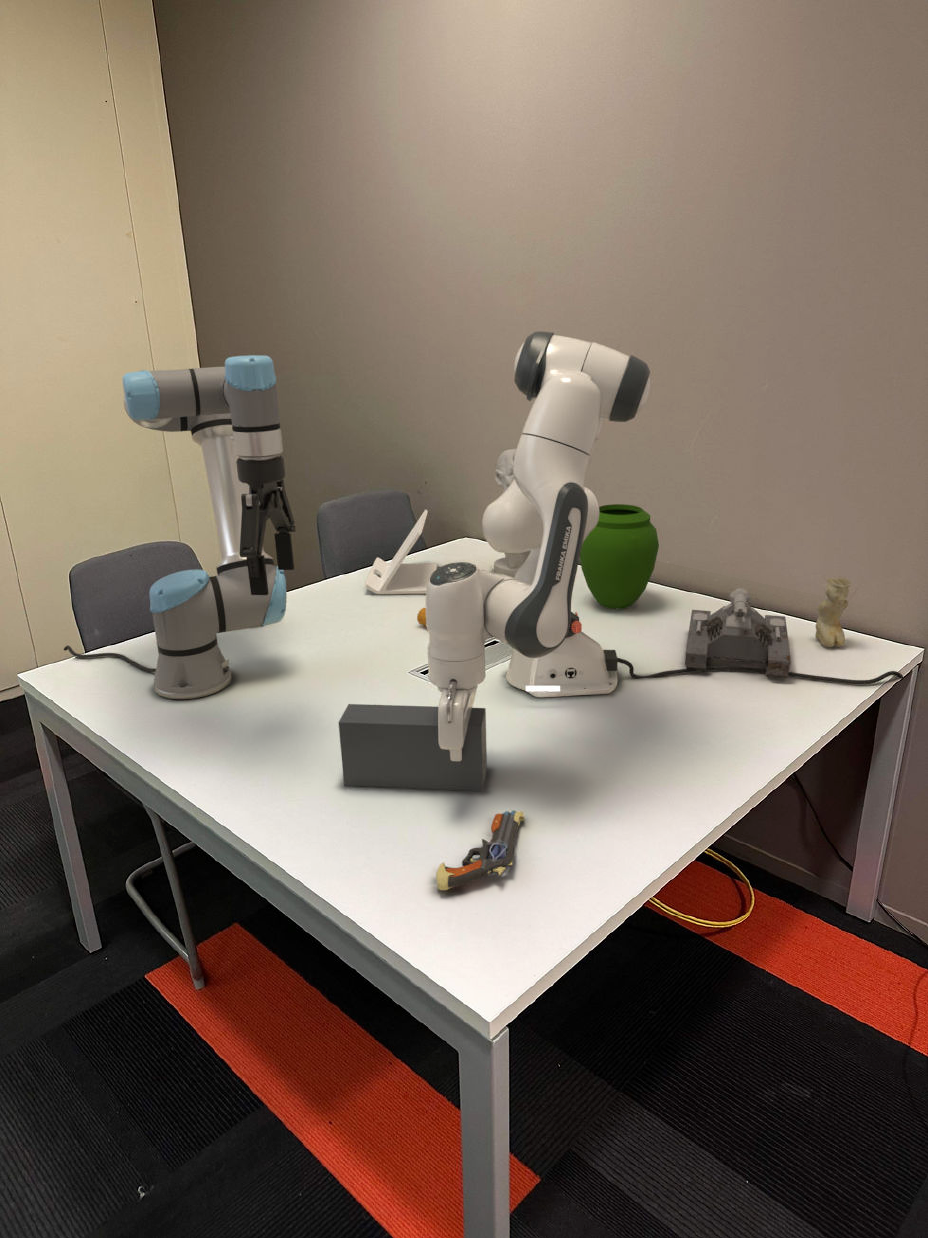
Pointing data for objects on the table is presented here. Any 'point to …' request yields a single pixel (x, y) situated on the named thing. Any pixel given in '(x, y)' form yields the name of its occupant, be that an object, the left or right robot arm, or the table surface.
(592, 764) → the table surface
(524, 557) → the bust sculpture
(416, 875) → the table surface
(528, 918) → the table surface
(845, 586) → the sculpture
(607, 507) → the vase
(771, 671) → the toy
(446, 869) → the toy gun
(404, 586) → the tablet stand
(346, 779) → the box
